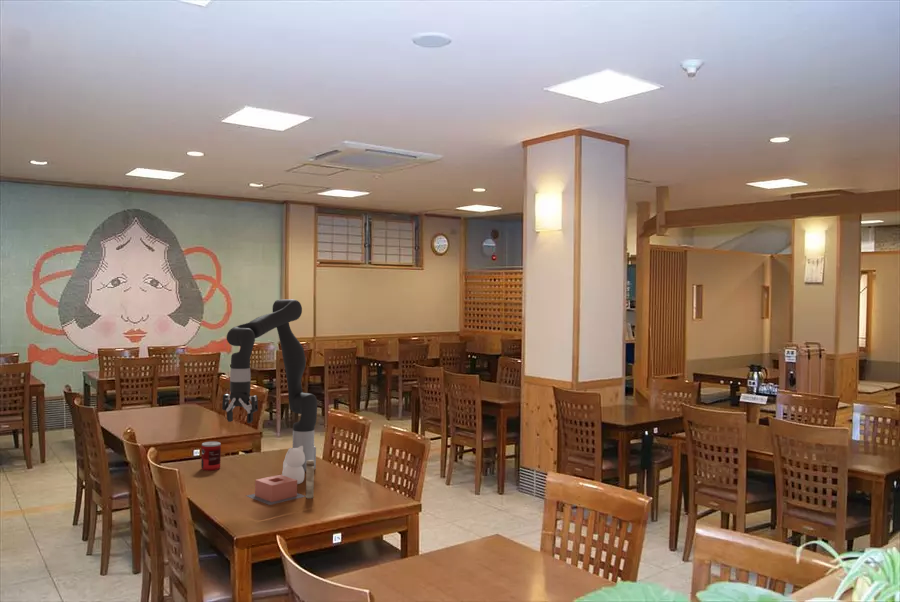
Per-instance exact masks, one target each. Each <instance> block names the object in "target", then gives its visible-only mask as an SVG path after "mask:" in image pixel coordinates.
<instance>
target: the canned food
mask: <svg viewBox="0 0 900 602" xmlns="http://www.w3.org/2000/svg"><path fill="white" fill-rule="evenodd" d="M221 453H222V444H221V442H219V441H205V442H202V443H201V462H200V463H201V464H200V465H201V470H203V471H207V472H208V471H217V470H219V469H220V468H221V460H222V459H221V456H222V454H221Z"/></svg>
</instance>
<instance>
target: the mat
mask: <svg viewBox="0 0 900 602" xmlns="http://www.w3.org/2000/svg"><path fill="white" fill-rule="evenodd" d="M246 497H247V498H250V499H253V500H256V501H258V502H260V503H264V504H266V505H269V506H271V505H276V504H279V503H280V504H281V503H283V502H287V501H292V500H293V501H294V500H298V499H301V498H306V495H304V494H302V493H298V492H297V496H295V497H291V498H287V499H282V500H278V501H274V502H270V501H267V500H265V499H262V498H260V497H257V496H255V493H251V494H248V495H246Z"/></svg>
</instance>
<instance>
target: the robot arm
mask: <svg viewBox="0 0 900 602" xmlns="http://www.w3.org/2000/svg"><path fill="white" fill-rule="evenodd" d="M302 313H303V308H302V304H301V302H300V301H299V300H297V299H292V298H291V299H289V298H288V299H287V298H286V299H276V300H274V302H273V304H272V312H270V313H266V314H262V315H261V316H258V317H256V318H254V319H251V320H250V321H249V322H246V323H242V324H240V325H236V326H233V327H232V328H230V329H229V330H228V332H227V334H226V340H227V343H228V344H229V345H231V346H232V347H233V346H234V347H240V348H239V350H238V351H237V352H234V353H232V354H231V357H230V373H229V392H230V393H226V394H223V395H222V404H221V405H222V406H221V408H222V409H221V410H223V411H225V412H226V419H227V420H226V421H227V422H229V423H231V422H233V420H234V412H233V410H234V409H235V407H241V408H243V409H244V410H246V412H247V413H246V415H247V417H246V419H247V420H246V421H247V422H246V423H247V424H251V423H253V421H254V413H255V412H258V411H259V400H258V399H259V398H258V396H257V395H251V381H252V380H251V377H252V374H251V356H252V352H253V350H254V346H255V343H256V342H255V341H256V339H258V338H260V337H262V336H263V335H265V334H267V333H268V332H271V331H272V330H273V329H276V331H277V334H278V339H279V342H280V349H281V354H282V360H283V361H282V362H283V364H284V370H285V377H286V383H287V394H288V396H287V397H288V404H289V408H290V410H291V412H293V413H294V414H299V415H300V419H299V421H297V422H294V423H293V424H292V448H298V447H300V446H303V452H304V455H305V462H304V464H303V465H302V467H303V469H304V473H305V472H306V461H307V460H314V470H316V469H317V468H316V465H317V464H316V463H317V462H316V461H317V447H316V446H315V428H316V423H317V417H318V399H317V397H316V395H314V394H313V393H309V392H304V391H303V385H302V378H303V375H304V372H305V369H306V364H307V359H306V355H305V354H306V353H305V349H304V347H303V345H302V343H301V342H300V340H299V339H298V338H297V337H296V336H295V334H294V333H293V331H292V329H291V327H290V323H291V322H294V321H297V320H299V319H300V317H301V316H302Z"/></svg>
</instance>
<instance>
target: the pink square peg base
mask: <svg viewBox="0 0 900 602" xmlns="http://www.w3.org/2000/svg"><path fill="white" fill-rule="evenodd" d="M254 484H255V485H254V494H255V496H257V497H260V498H262V499H265V500H267V501H270V502H274V501H278V500H282V499H287V498H291V497H295V496H297V493H298V484H297V480H295V479H292V478H289V477H286V476H283V475H282V474H277V475H271V476H267V477H262V478H258V479H255V481H254Z"/></svg>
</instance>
